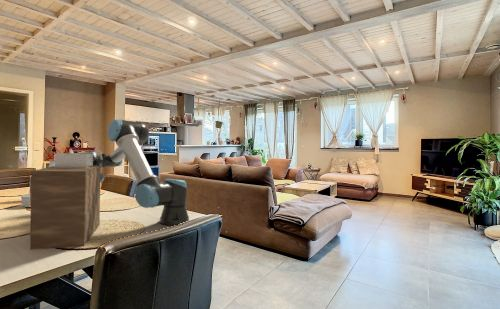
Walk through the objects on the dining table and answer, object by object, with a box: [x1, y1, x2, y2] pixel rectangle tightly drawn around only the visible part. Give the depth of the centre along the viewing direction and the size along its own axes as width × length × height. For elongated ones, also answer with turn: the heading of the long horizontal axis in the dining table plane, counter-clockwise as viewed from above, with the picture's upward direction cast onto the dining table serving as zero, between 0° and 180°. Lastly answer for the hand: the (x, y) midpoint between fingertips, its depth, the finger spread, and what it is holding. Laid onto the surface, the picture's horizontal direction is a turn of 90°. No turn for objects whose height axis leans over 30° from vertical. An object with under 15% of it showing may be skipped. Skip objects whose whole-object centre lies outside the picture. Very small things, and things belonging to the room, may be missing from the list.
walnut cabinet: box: [29, 166, 102, 251], centre depth 118 cm, size 28×18×30 cm, turn 18°
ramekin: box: [20, 193, 31, 208], centre depth 169 cm, size 13×13×7 cm
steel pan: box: [54, 151, 94, 168], centre depth 133 cm, size 32×12×6 cm, turn 18°
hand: (85, 151), depth 140 cm, fingers open, 13 cm apart
